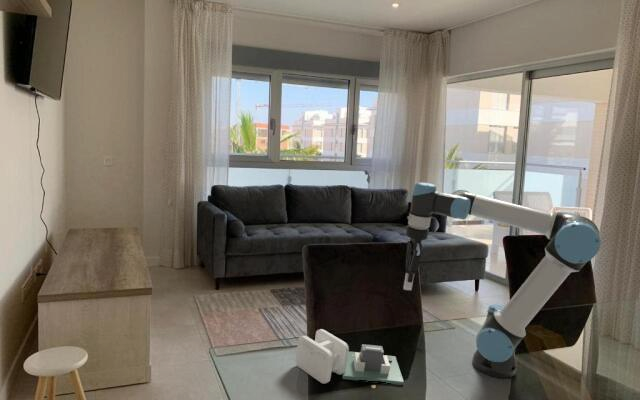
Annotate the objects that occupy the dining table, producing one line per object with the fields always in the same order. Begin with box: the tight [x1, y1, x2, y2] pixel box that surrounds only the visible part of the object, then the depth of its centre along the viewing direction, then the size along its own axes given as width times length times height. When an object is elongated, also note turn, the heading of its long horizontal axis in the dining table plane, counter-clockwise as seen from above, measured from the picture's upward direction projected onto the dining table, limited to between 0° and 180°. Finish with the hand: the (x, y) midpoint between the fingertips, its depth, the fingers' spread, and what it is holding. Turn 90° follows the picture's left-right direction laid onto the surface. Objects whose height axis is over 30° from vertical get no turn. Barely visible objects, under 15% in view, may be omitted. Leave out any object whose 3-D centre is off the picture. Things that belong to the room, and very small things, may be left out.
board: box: [341, 351, 405, 386], centre depth 167 cm, size 20×16×4 cm
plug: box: [359, 343, 385, 371], centre depth 165 cm, size 7×4×8 cm, turn 92°
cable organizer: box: [295, 328, 350, 384], centre depth 161 cm, size 15×11×12 cm
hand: (407, 289), depth 178 cm, fingers closed
